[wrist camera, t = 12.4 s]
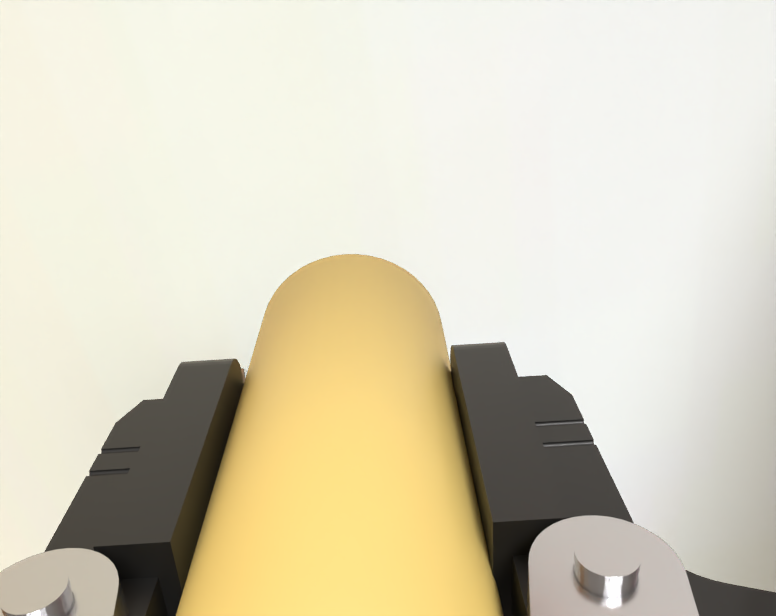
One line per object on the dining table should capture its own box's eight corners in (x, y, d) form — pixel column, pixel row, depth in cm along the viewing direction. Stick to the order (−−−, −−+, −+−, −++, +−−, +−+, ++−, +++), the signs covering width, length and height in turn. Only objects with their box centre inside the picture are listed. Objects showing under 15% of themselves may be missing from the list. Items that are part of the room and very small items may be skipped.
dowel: (439, 248, 11) (715, 1294, 2) (444, 409, 13) (636, 1491, 4) (250, 260, 11) (-187, 1351, 2) (273, 420, 13) (45, 1530, 4)
